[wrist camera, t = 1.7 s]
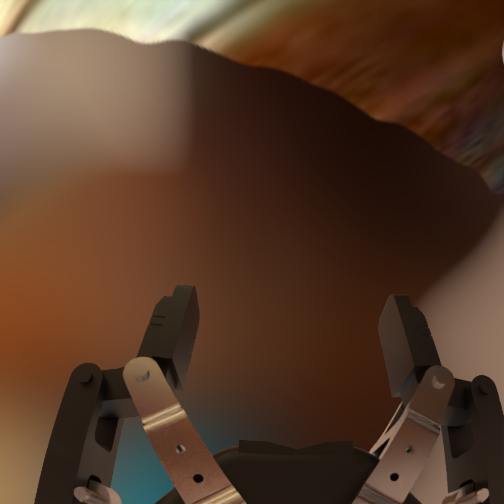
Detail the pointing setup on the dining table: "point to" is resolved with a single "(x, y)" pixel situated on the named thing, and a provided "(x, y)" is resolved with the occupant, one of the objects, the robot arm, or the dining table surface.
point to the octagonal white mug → (503, 52)
